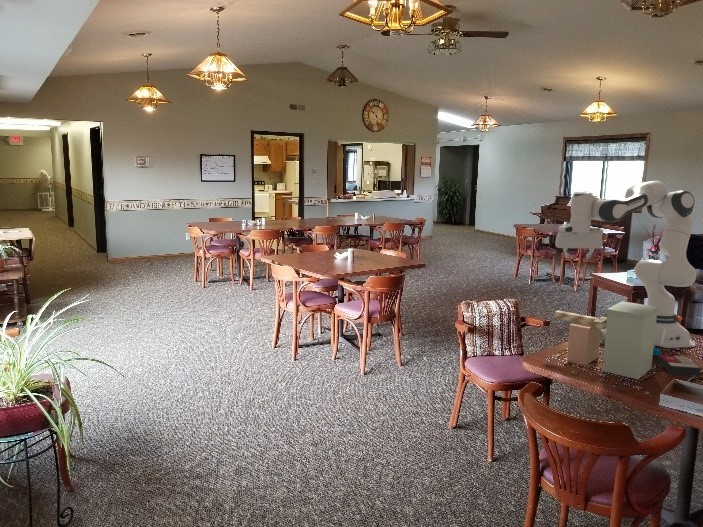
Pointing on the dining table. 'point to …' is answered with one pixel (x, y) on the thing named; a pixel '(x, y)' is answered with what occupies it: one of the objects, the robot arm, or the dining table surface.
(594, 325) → the wooden key
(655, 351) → the gear
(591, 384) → the dining table surface
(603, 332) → the ceramic sculpture
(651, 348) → the tall pale green box
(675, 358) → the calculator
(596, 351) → the light brown box
